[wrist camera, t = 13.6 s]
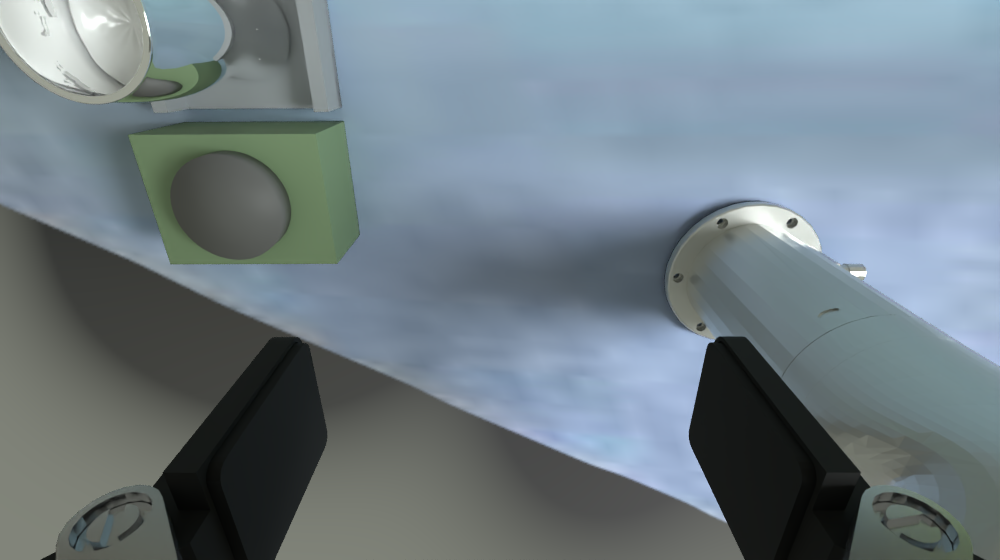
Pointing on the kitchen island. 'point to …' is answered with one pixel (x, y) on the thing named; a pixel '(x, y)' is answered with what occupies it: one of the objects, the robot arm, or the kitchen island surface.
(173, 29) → the beer glass
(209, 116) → the kitchen island surface
